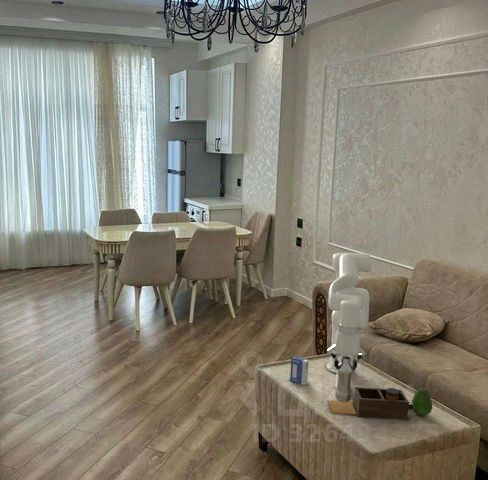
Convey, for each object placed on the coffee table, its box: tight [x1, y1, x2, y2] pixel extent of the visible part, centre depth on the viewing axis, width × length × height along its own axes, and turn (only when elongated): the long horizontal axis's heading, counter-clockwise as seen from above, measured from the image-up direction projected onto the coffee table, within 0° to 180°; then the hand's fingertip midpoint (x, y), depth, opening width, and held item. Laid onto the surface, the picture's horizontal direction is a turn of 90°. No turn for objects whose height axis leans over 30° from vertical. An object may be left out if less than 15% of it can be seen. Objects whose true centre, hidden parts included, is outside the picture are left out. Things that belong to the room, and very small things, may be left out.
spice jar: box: [385, 387, 400, 400], centre depth 230 cm, size 5×5×10 cm
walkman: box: [289, 355, 310, 386], centre depth 257 cm, size 8×3×12 cm, turn 54°
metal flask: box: [334, 356, 354, 402], centre depth 231 cm, size 6×7×20 cm
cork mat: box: [328, 400, 357, 415], centre depth 234 cm, size 10×10×1 cm
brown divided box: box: [352, 386, 410, 420], centre depth 231 cm, size 11×20×8 cm, turn 84°
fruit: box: [411, 387, 433, 417], centre depth 228 cm, size 8×8×12 cm
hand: (345, 368), depth 230 cm, fingers closed on metal flask, 6 cm apart
